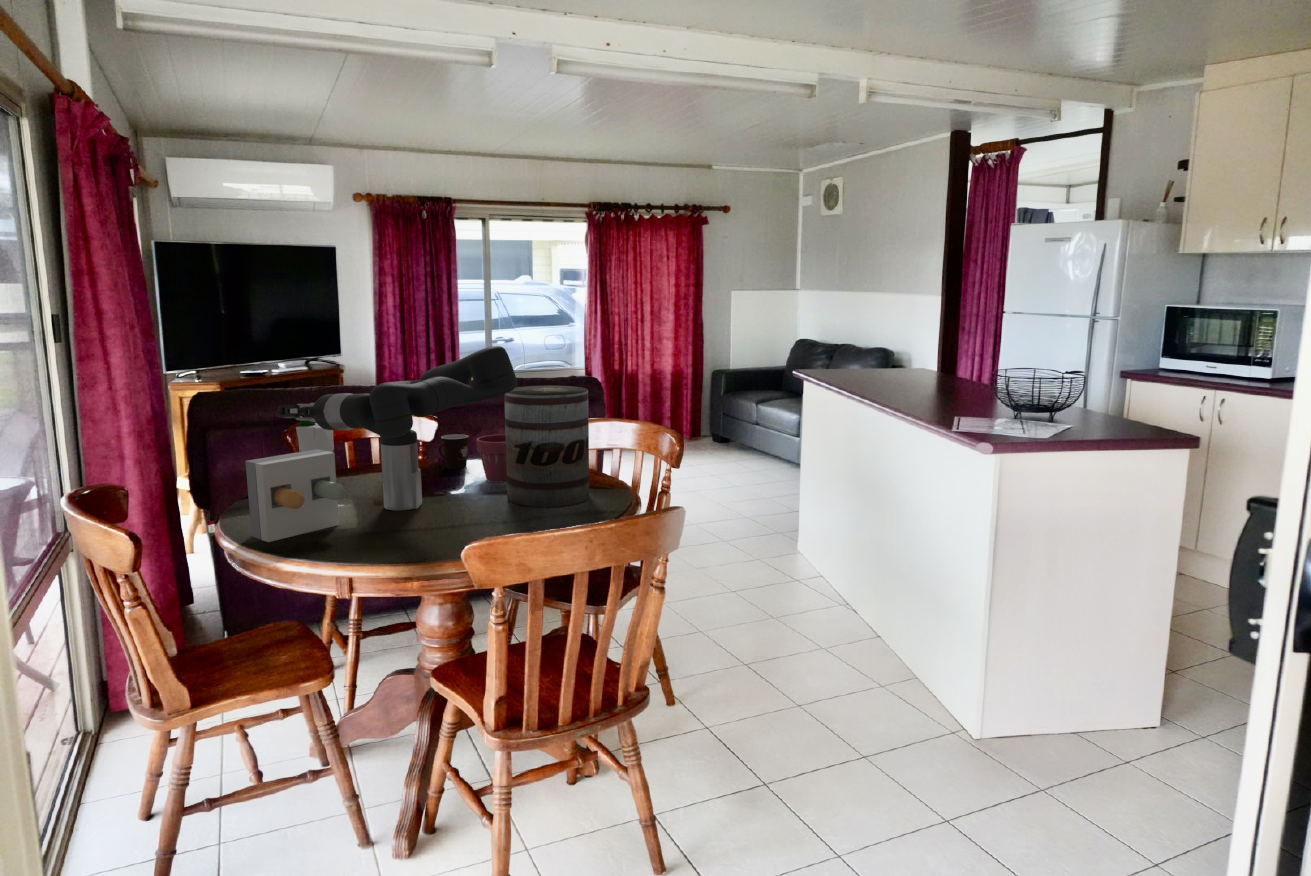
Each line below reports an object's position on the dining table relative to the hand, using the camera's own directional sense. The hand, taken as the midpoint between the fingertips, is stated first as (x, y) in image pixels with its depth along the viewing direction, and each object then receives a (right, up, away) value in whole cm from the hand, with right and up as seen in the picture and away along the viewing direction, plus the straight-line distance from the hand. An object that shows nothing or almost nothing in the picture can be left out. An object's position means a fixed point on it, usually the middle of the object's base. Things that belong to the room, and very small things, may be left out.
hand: (297, 413), depth 184 cm
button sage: (0, -20, +17) cm, 26 cm away
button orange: (-6, -21, +9) cm, 24 cm away
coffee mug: (+12, -15, +89) cm, 91 cm away
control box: (-8, -27, +18) cm, 34 cm away
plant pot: (+31, -18, +73) cm, 82 cm away
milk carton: (-21, -20, +64) cm, 70 cm away
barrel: (+48, -22, +51) cm, 73 cm away
